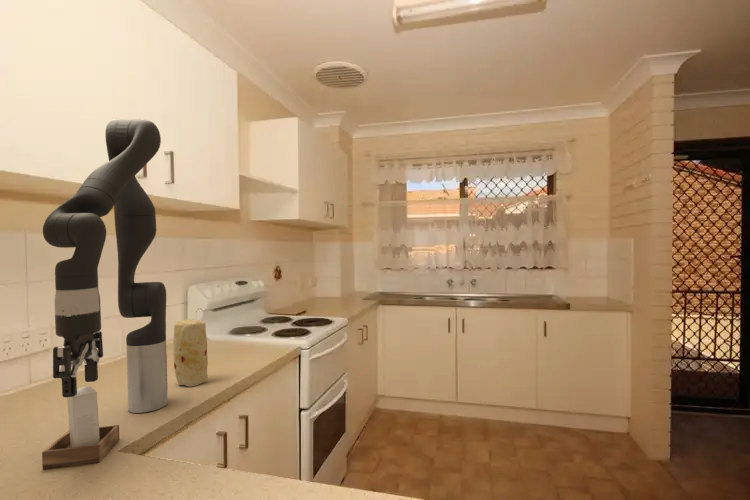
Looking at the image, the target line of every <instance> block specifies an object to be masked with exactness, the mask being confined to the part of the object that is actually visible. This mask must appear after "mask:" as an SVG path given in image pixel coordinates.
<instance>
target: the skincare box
mask: <svg viewBox="0 0 750 500" xmlns="http://www.w3.org/2000/svg"><path fill="white" fill-rule="evenodd" d="M66 398H67V412H68V413H67V415H68V429H69V430H68V431H70V446H71V448H73V447H82V446H91V445H97V444H98V443H99V442H100V436H99V427H100V421H99V405H98V391H97V390H95V389H94V388H93V387H92V386H90V385H87V386H83V387H79V388H78V387H77V394H76V395H75V396H74V397H66Z"/></svg>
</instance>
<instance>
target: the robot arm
mask: <svg viewBox="0 0 750 500" xmlns="http://www.w3.org/2000/svg"><path fill="white" fill-rule="evenodd" d="M106 124H107V125H106V126H105V127H106V128H105V144H106V146H105V147H106V152H107V156H108V158H107V159H108V161H107V162H105V163H103V164H102V165H100V166H99V167H97V168H96V169H94V170H93V171H92V172H91V173H90V174H89V175H88V176H87V178H85V180H84V181H83V183H82V184H81V185H80V187H79V188H78V189H77V191H76V192H75V194H74V195H72V196H71V197H69V198H68V199H66V200H65V201H64V202H63V203H62V204H60V205H59V206H58V207H56V208H55V209H54V210H53V211H51V213H50V214H48V216H47V218H46V219H45V221H44V222H43V225H42V235H43V238H44V240H45V241H46V243H48V244H49V245H50V246H52V247H55V248H61V249H62V248H65V249H67V248H71V249H73V248H75V249H74V252H73V254H72V256H71V258H68V259H64V260H60V261H58V262H57V263H56V264H55V268H54V279H55V281H54V282H55V285H54V287H55V293H54V321H55V322H54V324H55V326H54V328H55V329H54V330H55V335H56V336H57V337H62V338H63V345H59V346H54V347H53V348H52V378H53V379H54V380H55V379H59V380H61V389H62V390H61V395H62V397H63V398H67V397H74V396H75V395H76V394H77V389H78V386H77V385H78V383H77V373H78V370H79V368H80V367H82V365H83V363H84V381H85V382H86V383H92V382H96V381H98V379H99V372H98V371H99V369H98V368H99V367H98V363H99V362H100V359H101V358H103V357H104V349H103V346H104V345H103V333H102V319H101V318H102V315H101V314H102V313H101V312H102V311H101V296H100V290H99V274H98V272H99V271H98V268H99V264H100V261H101V257H102V253H103V250H104V246H105V242H106V238H107V228H106V224H105V222H104V221H103V219H102V217H105V216H106V215H108V214H109V213H110V212H111V210H112V209H113V213H114V214H113V215H114V228H115V237H116V250H117V265H118V266H117V277H118V278H117V305H118V312H119V314H120V315H121V317H122V318H124V319H130V318H131V319H134V318H148V317H150V322H148V324H146V325H144V326H142V327H140V328H137V329H134V330H132V331H130V332H129V333H127V334H126V336H125V337H126V339H125V340H126V341H125V344H126V374H127V409H128V410H127V411H128V412H129V413H132V414H133V413H134V414H141V413H143V414H144V413H149V412H153V411H157V410H160V409H161V408H163V407H166V406H167V405H168V402H169V397H168V396H169V394H168V393H169V391H168V363H167V362H168V361H167V359H168V358H167V357H168V355H167V320H166V319H167V318H166V317H167V289H166V286H165V284H164V282H161V281H150V282H149V281H145V282H135V275H136V270H137V267H138V265H139V263H140V261H141V259H142V257H143V256H144V255H145V253H146V252H147V250H148V248H149V247H150V246H151V244H152V243H153V241H154V239H155V237H156V234H157V216H156V214H157V213H156V208H155V205H154V203H153V201H152V200H151V198H150V197H149V195H148V194H147V193H146V191H145V190H144V188H143V187H142V186H141V184H140V182H139V181H138V178H137V176H136V175H137V174H138V173H140V171H141V170H142V169H143V168H144V167H145V166H146V165H147V164H148V163H149V162H150V161H151V160H152V159H153V158H154V157H155V156H156V154H157V153H158V151H159V149H160V147H161V144H162V143H161V142H162V140H161V133H160V131H159V128H158V126H157V125H156V124H155V123H154V122H153V121H151V120H149V119H145V118H143V119H142V118H113V119H112V118H111V119H110V120H109V121H108V122H107V123H106ZM60 366H61V367H60Z"/></svg>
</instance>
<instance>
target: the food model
mask: <svg viewBox="0 0 750 500" xmlns="http://www.w3.org/2000/svg"><path fill="white" fill-rule="evenodd" d="M207 338H208V337H207V330H206V321H203V320H201V319H199V320H198V319H189V318H188V319H182V320H180V321H178V322H176V323H174V327H173V348H172V349H173V351H172V354H173V368H174V374H175V378H176V382H177V383H178V385H180V386H186V387H188V388H189V387H190V388H192V387H195V386H198V385H200V384H202V383H205V382H207V380H208V378H209V377H208V376H209V375H208V367H209V365H208V364H209V362H208V358H209V357H208V339H207Z"/></svg>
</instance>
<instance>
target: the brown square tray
mask: <svg viewBox="0 0 750 500" xmlns="http://www.w3.org/2000/svg"><path fill="white" fill-rule="evenodd" d="M99 436H100V442H99V443H98V444H97V445H91V446H82V447H73V448H71V446H70V431H69V430H68V431H66V432H65V433H64V434H63V435H62V436H60V437H59V438H58V439H57V440H56V441H54V442H53V443H51V444H50V445H49V446H48V447H47V448H46V449H44V450H43V451H42V452H41V458H42V459H41V461H42V462H41V463H42V470H50V469H59V468H66V467H67V468H68V467H74V466H82V465H90V464H92V465H93V464H99V463H100V462H101V461H102V459H104V458H105V456H107V455H108V453H109V452H110V451H111V450H112V449H113V447H114V446H115V445H117V443H118V442H119V441H120V425H119V424H116V425H115V424H114V425H106V426H105V425H104V426H99Z"/></svg>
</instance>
